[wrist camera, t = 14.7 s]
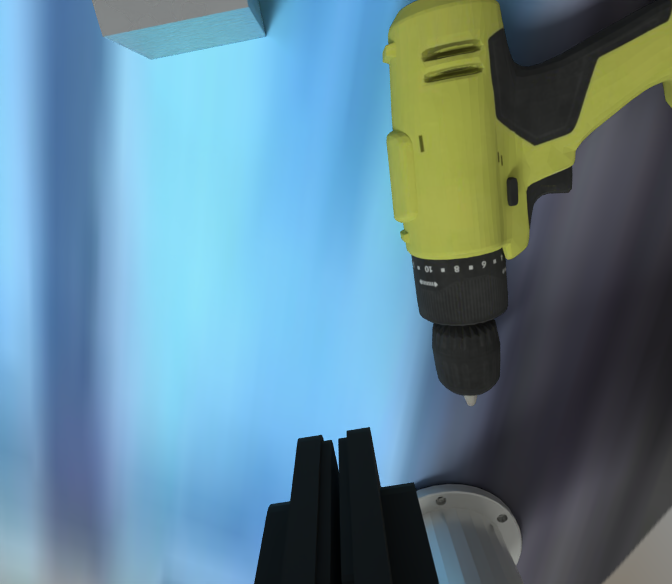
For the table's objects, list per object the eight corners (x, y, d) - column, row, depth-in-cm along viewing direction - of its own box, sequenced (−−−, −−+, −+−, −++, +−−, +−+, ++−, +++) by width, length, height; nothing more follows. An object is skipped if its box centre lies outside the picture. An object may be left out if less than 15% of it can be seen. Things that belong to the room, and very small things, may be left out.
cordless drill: (750, 334, 33) (411, 386, 34) (789, -61, 26) (361, 23, 27) (857, 379, 26) (431, 443, 27) (950, -138, 19) (370, -23, 20)
